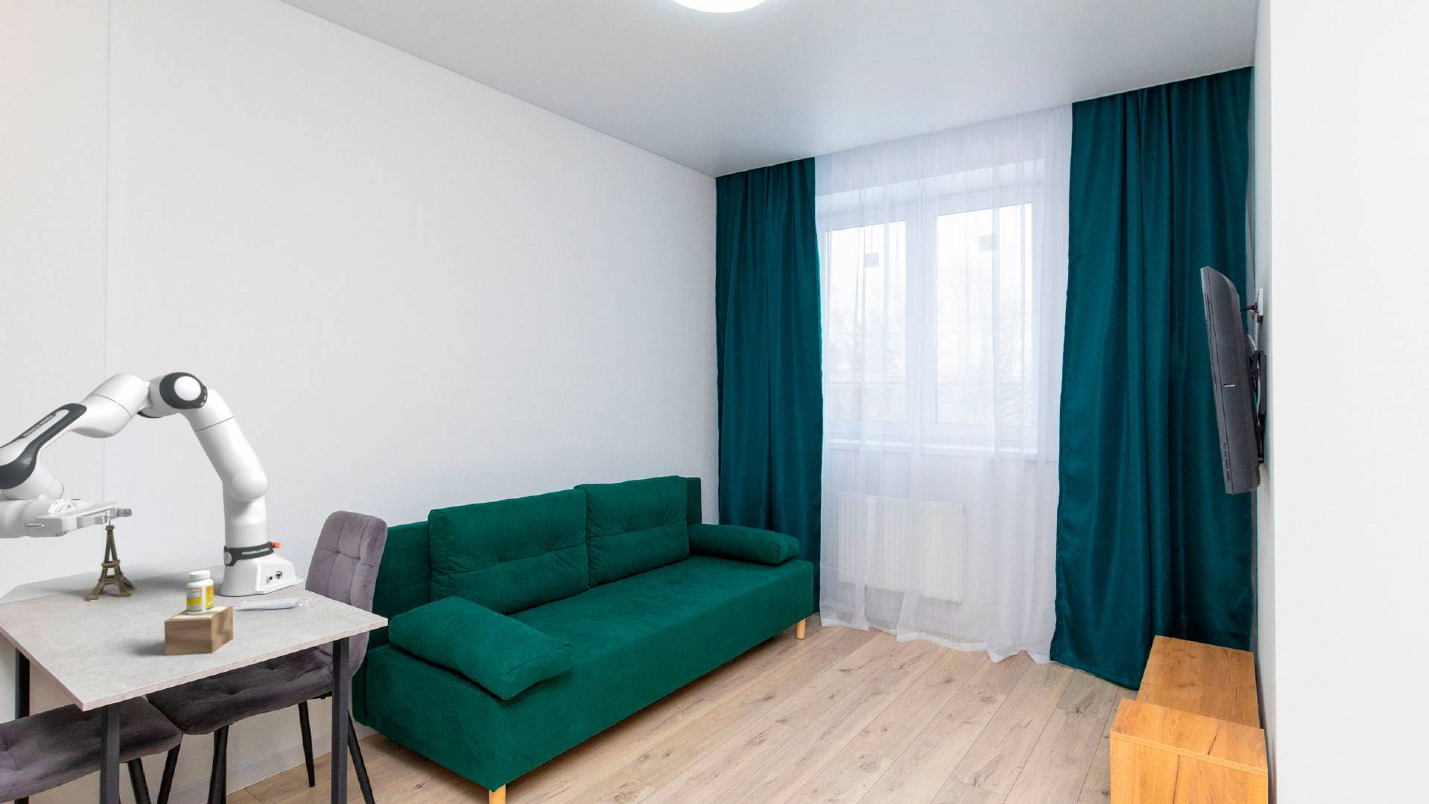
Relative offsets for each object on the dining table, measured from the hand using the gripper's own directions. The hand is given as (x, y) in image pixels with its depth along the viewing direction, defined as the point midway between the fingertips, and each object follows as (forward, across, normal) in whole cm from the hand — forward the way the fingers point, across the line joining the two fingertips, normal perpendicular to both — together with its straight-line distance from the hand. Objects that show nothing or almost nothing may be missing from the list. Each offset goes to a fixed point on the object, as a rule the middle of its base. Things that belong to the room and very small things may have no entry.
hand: (118, 516), depth 175 cm
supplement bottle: (+18, -1, +24) cm, 30 cm away
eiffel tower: (-32, +50, +32) cm, 67 cm away
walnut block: (+18, -2, +32) cm, 37 cm away
